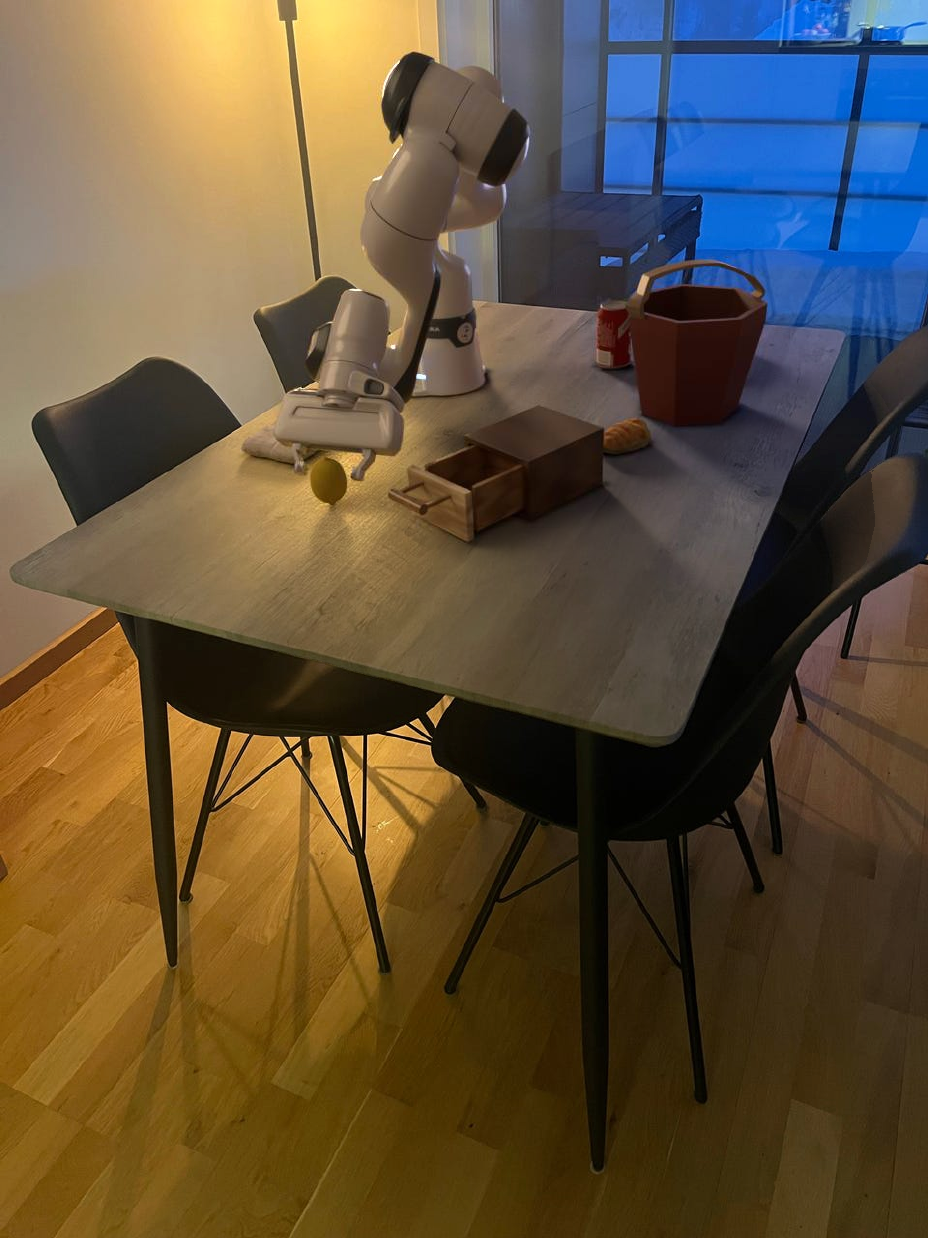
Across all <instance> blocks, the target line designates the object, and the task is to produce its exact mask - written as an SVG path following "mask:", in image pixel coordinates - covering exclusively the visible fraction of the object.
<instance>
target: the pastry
mask: <svg viewBox="0 0 928 1238" xmlns="http://www.w3.org/2000/svg"><path fill="white" fill-rule="evenodd" d="M652 439H653V436H652V434H651V430H650V429H649V427H648V424H647V423H646V422H645V421H644V420H642V419H641V418H639V417H635V418H631V417H628V419H625V420H624V421H621V422H616V423H613V424H612V425H610V427H609V428H607V429H606V430H604V451H603V453H606V454H610V455H620V454H624V453H625V454H626V453H627V454H628V453H629V452H634V451H636V450H639V449H640V448H645V447H647V446H649V444H650V442H651V441H652Z"/></svg>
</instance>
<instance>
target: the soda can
mask: <svg viewBox="0 0 928 1238" xmlns="http://www.w3.org/2000/svg"><path fill="white" fill-rule="evenodd" d="M627 302H628V301H624V300H608V301H604V302H602V303H600V309H599V310H598V311H597V313H596V344H595V363H596V364H597V366H599V367H600V368H602V369H605V370H620V369H623V368H625V367H627V366H628V365H629V364H630V363H631V356H632V355H631V353H632V352H631V350H632V342H631V335H630V315H629V313H628V311H627V309H626V307H625V304H626V303H627Z"/></svg>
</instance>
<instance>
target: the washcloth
mask: <svg viewBox="0 0 928 1238" xmlns="http://www.w3.org/2000/svg"><path fill="white" fill-rule="evenodd" d="M275 423H276V420H275V421H274V422H272V423H270V424H268V425H266V426H265V427H262V428H261V429H260V430H258V431H257V432H255V433H254V434H251V435H249V436H247V438H246V439H245V440H244V441H243V443H241V451H242V452H243V453H245V454H247V455H251V456H255V457H260V458H267V459H270V460H273V461H275V462H283V463H286V464H294V465H295V462H296V461H295V459H294V456H293V453H292V450H291V449H292V447H285V446H283V445H282V444H280V443H279V442H278V441H277V440H276V439H275V437H274V434H273V430H274V426H275ZM316 452H319V450H317V449H307V450H306V454H305V455H303V454H302V457H303V461H304V460H306V459H308V458H310V457H311V456H312V455H314V454H315V453H316Z"/></svg>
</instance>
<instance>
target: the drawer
mask: <svg viewBox="0 0 928 1238" xmlns="http://www.w3.org/2000/svg"><path fill="white" fill-rule="evenodd" d="M406 471H407V480H408V481H407V482H408V485H407V486H404V487H403V488H400V489H396V488H394V487H393V488H391V489H389V491H388V493H387V498H388V499H389V500H391V501H392V502H395V503H397V504H399V505H401V506H402V507H404V508H407V509H409V510H410V512H411V514H412V515H414V516H415V517H416V516H417V517H418V518H420V519H423V520H424V521H426V522H428V523H430V524H432V525H434V526H436V527H438V528H440V529H442V530H444V531H446V532H448V533H449V534H452V535H453V536H455V537H457V538H459V539H461V540H463V541H465V542H467V543H469V542H470V541H473V540H475V532H474V530H475V531H476V532H479V531H481V530H483V529H486V528H487V527H489V526H491V525H493V524H495V523H497V522H500V521H502V520H504V519H505V518H508V517H511V516H512V515H514V514H516V512H518V511H520V510H522V509H524V508H526V503H525V466H524V465H522V464H519V463H517V462H514V461H512V460H510V459H507V458H505V457H502V456H500V455H497V454H495V453H492V452H490V451H488V450H485V449H483V448H480V447H478V446H475V445H471V446H469V447H466V448H465V447H464V448H462V449H460V450H456V451H454V452H452V453H450V454H447V455H445V456H443V457H440V458H437V459H435V460H433V461H430V462H428V463H426V464H424V469H423V468H421V467H419V466H417V465H415V464H412V465H409V466H407V467H406ZM407 493H409V494H407Z"/></svg>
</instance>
